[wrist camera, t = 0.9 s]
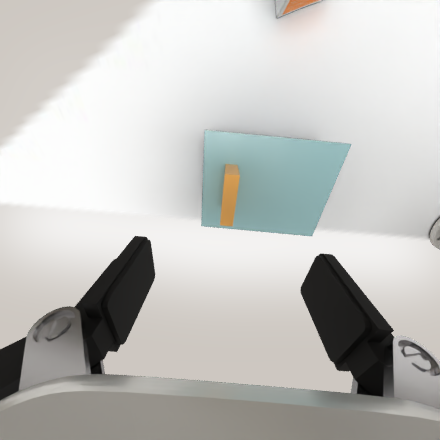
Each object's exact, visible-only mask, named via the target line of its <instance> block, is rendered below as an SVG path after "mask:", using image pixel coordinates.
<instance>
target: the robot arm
mask: <svg viewBox="0 0 440 440" xmlns="http://www.w3.org/2000/svg"><path fill="white" fill-rule="evenodd" d="M430 241H431V243H432V245H434V246H435V247H436V248H438V249H440V218H439V219H438V220H437V222H436V223H435V224H434V226H433V228H432V230H431V233H430ZM154 278H155V270H154V263H153V256H152V248H151V242H150V240H148V239H147V237H139V236H135V237H134V238H133V239H132V240H131V242H130V243H129V244H128V245H127V247H126V248H125V249H124V250H123V252H122V253H121V254H120V255H119V256H118V258H117V259H115V260H114V261H112V262H111V264H110V265H109V266H108V267H107V269H106V270H105V271H104V272H103V273H102V275H101V276H100V277H99V278H98V280H97V281H96V282H95V283H94V284H93V285H92V287H91V288H90V289H89V290H88V291H87V293H86V294H85V295H84V297H83V298H82V299H81V300H80V301H79V303H78V304H77V305H76V306H75V307H70V306H69V307H62V308H59V309H56V310H53V311H51V312H49V313H47V314H46V315H45V316H43V317H42V318H40V319H39V320H38V321H37V322H36V323H35V324H34V325H33V326H32V328H31V329H30V330H29V332H28V335H27V337H25V338H23V339H21V340H19V341H17V342H15V343H13V344H11V345H9V346H7V347H5V348H3V349H0V440H440V361H439V360H438V359H437V358H436V357H435V356H434V355H433V354H432V353H431V352H430V351H429V350H428V349H427V348H425V347H424V346H423V345H421V344H420V343H418V342H417V341H415V340H413V339H411V338H409V337H405V336H396V337H394V336H393V335H392V334H391V332H393V331H394V330H393V329H392V328H391V326H390V325H389V324H388V323H387V321H386V320H385V319H384V318H383V316H382V315H381V314H380V313H379V311H378V310H377V309H376V308H375V307H374V305H373V304H372V303H371V302H370V301H369V299H368V298H367V297H366V295H365V294H364V293H363V292H362V290H361V289H360V288H359V287H358V285H357V284H356V283H355V282H354V280H353V279H352V278H351V277H350V275H349V274H348V273H347V272H346V270H345V269H344V268H343V267H342V266H341V264H340V263H339V262H338V261H337V259H336V258H335V257H334V256H333V255H330V254H320V255H319V256H316V258H315V260H314V262H313V264H312V266H311V268H310V270H309V272H308V274H307V276H306V278H305V280H304V282H303V284H302V286H301V294H302V297H303V299H304V301H305V304H306V306H307V308H308V310H309V313H310V315H311V317H312V320H313V322H314V324H315V326H316V329H317V331H318V333H319V336H320V338H321V340H322V343H323V345H324V347H325V350H326V352H327V354H328V357H329V358H330V360H331V361H332V362H334V364H335V367H336V369H337V370H339V371H351V373H352V375H353V382H352V389H351V393H340V392H329V391H318V390H306V389H295V388H284V387H272V386H260V385H248V384H247V385H246V384H235V383H222V382H210V381H198V380H197V381H196V380H184V379H172V378H159V377H145V376H127V375H109V374H108V375H107V374H105V372H104V365H103V359H104V358H105V356H106V354H107V352H108V351H114V352H117V351H118V349H119V347H120V345H121V344H124V343H125V341H126V340H127V337H128V335H129V333H130V331H131V329H132V326H133V324H134V322H135V320H136V318H137V316H138V313H139V312H140V309H141V307H142V305H143V303H144V301H145V299H146V296H147V294H148V292H149V290H150V288H151V285H152V283H153V281H154Z"/></svg>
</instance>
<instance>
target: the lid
mask: <svg viewBox="0 0 440 440" xmlns="http://www.w3.org/2000/svg"><path fill="white" fill-rule="evenodd" d="M350 146H351V144H347V143H337V142H327V141H316V140H306V139H295V138H285V137H274V136H264V135H254V134H243V133H233V132H222V131H212V130H205V136H204V165H203V194H202V224H201V226H206V227H217V228H228V229H240V230H250V231H261V232H271V233H282V234H294V235H304V236H312V235H313V233H314V230H315V228H316V226H317V223H318V221H319V219H320V216H321V214H322V212H323V209H324V207H325V205H326V202H327V200H328V198H329V195H330V193H331V191H332V188H333V186H334V184H335V181H336V179H337V177H338V174H339V172H340V170H341V167H342V165H343V163H344V160H345V158H346V156H347V153H348V151H349V149H350Z"/></svg>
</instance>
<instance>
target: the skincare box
mask: <svg viewBox="0 0 440 440" xmlns="http://www.w3.org/2000/svg"><path fill="white" fill-rule="evenodd" d="M320 1H322V0H275V2H276V16H277V18H279V17H281V16H283V15H286V14H288V13H291V12H293V11H296V10H298V9H301V8H303V7H306V6H309V5H311V4H314V3H317V2H320Z"/></svg>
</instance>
